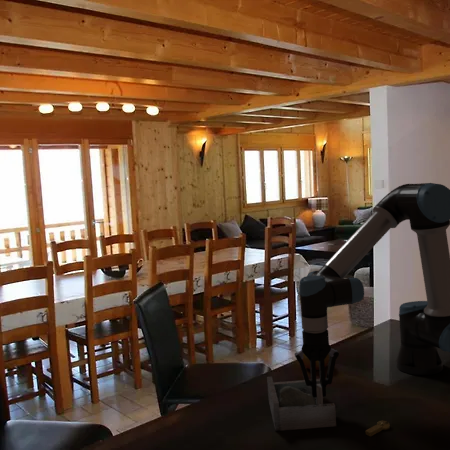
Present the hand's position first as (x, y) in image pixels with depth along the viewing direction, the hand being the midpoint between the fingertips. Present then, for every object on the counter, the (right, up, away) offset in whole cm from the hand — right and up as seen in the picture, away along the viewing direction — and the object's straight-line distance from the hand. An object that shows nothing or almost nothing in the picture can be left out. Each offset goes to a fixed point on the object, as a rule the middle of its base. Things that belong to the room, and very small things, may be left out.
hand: (319, 406), depth 151 cm
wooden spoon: (+13, -2, -13) cm, 19 cm away
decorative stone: (-7, -2, -1) cm, 7 cm away
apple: (+5, +2, +34) cm, 35 cm away
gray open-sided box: (-6, -2, 0) cm, 6 cm away
